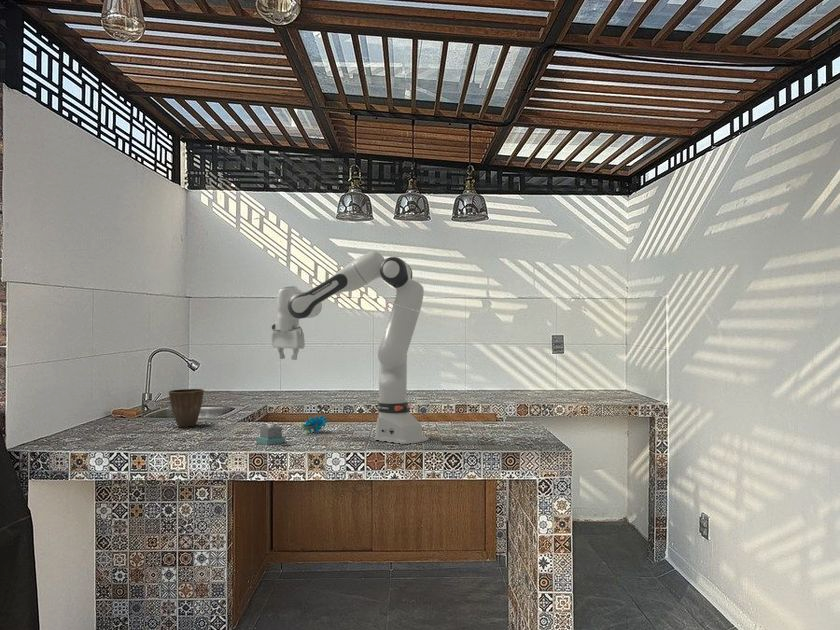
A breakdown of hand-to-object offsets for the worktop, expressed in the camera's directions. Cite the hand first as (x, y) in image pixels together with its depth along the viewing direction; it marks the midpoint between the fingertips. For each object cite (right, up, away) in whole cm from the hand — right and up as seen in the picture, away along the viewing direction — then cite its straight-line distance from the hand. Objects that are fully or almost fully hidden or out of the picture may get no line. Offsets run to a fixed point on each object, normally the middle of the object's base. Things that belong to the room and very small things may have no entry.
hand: (288, 359), depth 269 cm
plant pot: (-51, -32, +24) cm, 64 cm away
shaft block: (-3, -31, -17) cm, 36 cm away
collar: (-3, -29, -17) cm, 34 cm away
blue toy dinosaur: (+10, -31, +5) cm, 33 cm away
